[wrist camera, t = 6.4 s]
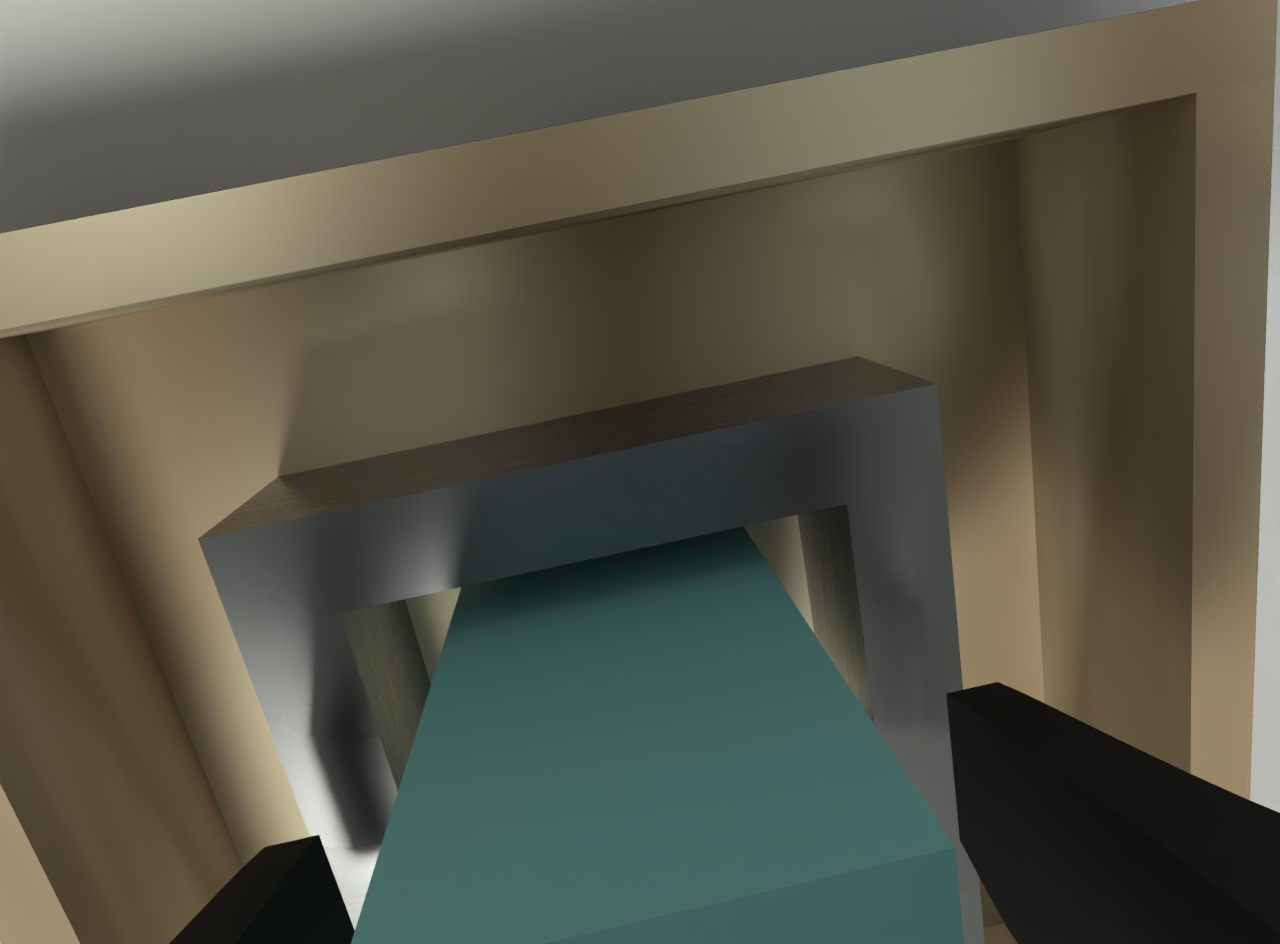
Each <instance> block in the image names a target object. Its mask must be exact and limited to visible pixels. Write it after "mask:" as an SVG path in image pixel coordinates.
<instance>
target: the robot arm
mask: <svg viewBox="0 0 1280 944" xmlns="http://www.w3.org/2000/svg"><path fill="white" fill-rule="evenodd" d="M946 697H947V708H948V718H949V729H950V740H951V751H952V762H953V773H954V784H955V794H956V805H957V816H958V827H959V838H960V841H961V843H962V845H963V847H964V849H965V851H966V853H967V855H968V857H969V858H970V860H971V862H972V864H973V866H974V868H975V870H976V872H977V874H978V876H979V878H980V879H981V881H982V883H983V885H984V887H985V889H986V891H987V893H988V894H989V896H990V898H991V900H992V902H993V903H994V905H995V907H996V909H997V911H998V912H999V914H1000V916H1001V918H1002V920H1003V921H1004V923H1005V925H1006V927H1007V928H1008V930H1009V931H1010V933H1011V934H1012V936H1013V937H1014V939H1015V940H1016V942H1017V943H1018V944H1280V813H1278V812H1276V811H1274V810H1271V809H1269V808H1267V807H1264V806H1262V805H1259V804H1257V803H1255V802H1252V801H1250V800H1248V799H1246V798H1243V797H1241V796H1239V795H1237V794H1234V793H1232V792H1230V791H1228V790H1225V789H1223V788H1221V787H1219V786H1216V785H1214V784H1212V783H1210V782H1208V781H1205V780H1203V779H1201V778H1199V777H1197V776H1195V775H1192V774H1190V773H1188V772H1186V771H1184V770H1181V769H1179V768H1177V767H1175V766H1173V765H1171V764H1169V763H1167V762H1165V761H1162V760H1160V759H1158V758H1156V757H1154V756H1152V755H1150V754H1148V753H1146V752H1143V751H1141V750H1139V749H1137V748H1135V747H1133V746H1131V745H1129V744H1127V743H1125V742H1123V741H1121V740H1119V739H1116V738H1114V737H1112V736H1110V735H1108V734H1106V733H1104V732H1102V731H1100V730H1098V729H1096V728H1094V727H1092V726H1090V725H1088V724H1086V723H1084V722H1082V721H1080V720H1078V719H1076V718H1074V717H1072V716H1070V715H1068V714H1066V713H1063V712H1061V711H1059V710H1057V709H1055V708H1053V707H1051V706H1049V705H1047V704H1045V703H1043V702H1041V701H1039V700H1037V699H1035V698H1033V697H1030V696H1028V695H1026V694H1024V693H1022V692H1020V691H1018V690H1015V689H1013V688H1011V687H1009V686H1006V685H1004V684H1002V683H999V682H995V683H990V684H986V685H982V686H977V687H973V688H968V689H964V690H959V691H955V692H950V693H946ZM354 932H355V930H354V927H353V925H352V922H351V919H350V917H349V914H348V911H347V909H346V906H345V903H344V901H343V898H342V895H341V892H340V890H339V887H338V884H337V882H336V879H335V876H334V874H333V871H332V868H331V866H330V863H329V860H328V858H327V855H326V852H325V850H324V847H323V844H322V841H321V839H320V836H319V835H316V836H311V837H307V838H302V839H298V840H293V841H289V842H285V843H280V844H276V845H271V846H267V847H264V848H263V849H262V850H261V851H260V852H259V853H258V854H256V855H255V856H254V857H253V858H252V859H251V860H250V861H249V862H248V863H247V864H246V865H245V866H244V867H243V868H242V869H241V870H240V871H239V872H238V873H237V874H236V875H235V876H234V877H233V878H232V879H231V880H230V881H229V882H228V883H227V884H226V885H225V886H224V887H223V888H222V889H221V890H220V891H219V892H218V893H217V894H216V895H215V896H214V897H213V898H212V899H211V900H210V901H209V902H208V903H207V904H206V905H205V907H204V908H203V909H202V910H201V911H200V912H199V913H198V914H197V915H196V916H195V917H194V918H193V919H192V920H191V921H190V922H189V923H188V924H187V925H186V926H185V927H184V929H183V930H182V931H181V932H180V933H179V934H178V935H177V936H176V937H175V938H174V939H173V940H172V941H171V942H170V943H169V944H351V942H352V938H353V935H354Z"/></svg>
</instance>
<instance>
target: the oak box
mask: <svg viewBox="0 0 1280 944" xmlns="http://www.w3.org/2000/svg"><path fill="white" fill-rule="evenodd" d="M1276 24H1277V0H1202V1H1196V2H1191V3H1186V4H1181V5H1176V6H1171V7H1165V8H1160V9H1155V10H1150V11H1145V12H1140V13H1134V14H1129V15H1124V16H1119V17H1114V18H1109V19H1104V20H1098V21H1093V22H1088V23H1083V24H1078V25H1073V26H1067V27H1062V28H1057V29H1052V30H1047V31H1042V32H1037V33H1031V34H1026V35H1021V36H1016V37H1011V38H1006V39H1000V40H995V41H990V42H985V43H980V44H975V45H970V46H964V47H959V48H954V49H949V50H944V51H939V52H933V53H928V54H923V55H918V56H913V57H908V58H903V59H897V60H892V61H887V62H882V63H877V64H872V65H866V66H861V67H856V68H851V69H846V70H841V71H835V72H830V73H825V74H820V75H815V76H810V77H805V78H799V79H794V80H789V81H784V82H779V83H774V84H768V85H763V86H758V87H753V88H748V89H743V90H738V91H732V92H727V93H722V94H717V95H712V96H707V97H701V98H696V99H691V100H686V101H681V102H676V103H671V104H665V105H660V106H655V107H650V108H645V109H640V110H634V111H629V112H624V113H619V114H614V115H609V116H603V117H598V118H593V119H588V120H583V121H578V122H573V123H567V124H562V125H557V126H552V127H547V128H542V129H536V130H531V131H526V132H521V133H516V134H511V135H506V136H500V137H495V138H490V139H485V140H480V141H475V142H469V143H464V144H459V145H454V146H449V147H444V148H439V149H433V150H428V151H423V152H418V153H413V154H408V155H402V156H397V157H392V158H387V159H382V160H377V161H372V162H366V163H361V164H356V165H351V166H346V167H341V168H335V169H330V170H325V171H320V172H315V173H310V174H304V175H299V176H294V177H289V178H284V179H279V180H274V181H268V182H263V183H258V184H253V185H248V186H243V187H237V188H232V189H227V190H222V191H217V192H212V193H207V194H201V195H196V196H191V197H186V198H181V199H176V200H170V201H165V202H160V203H155V204H150V205H145V206H140V207H134V208H129V209H124V210H119V211H114V212H109V213H103V214H98V215H93V216H88V217H83V218H78V219H72V220H67V221H62V222H57V223H52V224H47V225H42V226H36V227H31V228H26V229H21V230H16V231H11V232H5V233H0V942H1V944H169V943H170V942H171V941H172V940H173V939H174V938H175V937H176V936H177V935H178V934H179V933H180V932H181V931H182V930H183V929H184V927H185V926H186V925H187V924H188V923H189V922H190V921H191V920H192V919H193V918H194V917H195V916H196V915H197V914H198V913H199V912H200V911H201V910H202V909H203V908H204V907H205V905H206V904H207V903H208V902H209V901H210V900H211V899H212V898H213V897H214V896H215V895H216V894H217V893H218V892H219V891H220V890H221V889H222V888H223V887H224V886H225V885H226V884H227V883H228V882H229V881H230V880H231V879H232V878H233V877H234V876H235V875H236V874H237V873H238V872H239V871H240V870H241V869H242V868H243V867H244V866H245V865H246V864H247V863H248V862H249V861H250V860H251V859H252V858H253V857H254V856H255V855H256V854H258V853H259V852H260V851H261V850H262V849H263V848H264V847H267V846H271V845H276V844H280V843H285V842H289V841H293V840H298V839H302V838H307V837H310V835H309V833H308V830H307V827H306V825H305V822H304V820H303V817H302V814H301V812H300V809H299V806H298V804H297V801H296V798H295V796H294V793H293V790H292V788H291V785H290V782H289V780H288V777H287V774H286V772H285V769H284V766H283V764H282V761H281V759H280V756H279V753H278V751H277V748H276V745H275V743H274V740H273V737H272V735H271V732H270V729H269V727H268V724H267V721H266V719H265V716H264V713H263V711H262V708H261V705H260V703H259V700H258V697H257V695H256V692H255V690H254V687H253V684H252V682H251V679H250V676H249V674H248V671H247V668H246V666H245V663H244V660H243V658H242V655H241V652H240V650H239V647H238V644H237V642H236V639H235V636H234V634H233V631H232V628H231V626H230V623H229V621H228V618H227V615H226V613H225V610H224V607H223V605H222V602H221V599H220V597H219V594H218V591H217V589H216V586H215V583H214V581H213V578H212V575H211V573H210V570H209V567H208V565H207V562H206V559H205V557H204V554H203V552H202V549H201V546H200V544H199V541H198V538H200V537H201V536H202V535H204V534H205V533H206V532H207V531H209V530H210V529H211V528H213V527H214V526H215V525H216V524H218V523H219V522H220V521H222V520H223V519H224V518H225V517H227V516H228V515H229V514H231V513H232V512H233V511H234V510H236V509H237V508H238V507H240V506H241V505H242V504H243V503H245V502H246V501H247V500H249V499H250V498H251V497H252V496H254V495H255V494H256V493H258V492H259V491H260V490H261V489H263V488H264V487H265V486H267V485H268V484H269V483H270V482H272V481H273V480H274V479H276V478H277V477H279V476H284V475H289V474H294V473H299V472H303V471H308V470H313V469H318V468H323V467H328V466H332V465H337V464H342V463H347V462H352V461H356V460H361V459H366V458H371V457H376V456H380V455H385V454H390V453H395V452H400V451H404V450H409V449H414V448H419V447H424V446H429V445H433V444H438V443H443V442H448V441H453V440H457V439H462V438H467V437H472V436H477V435H481V434H486V433H491V432H496V431H501V430H505V429H510V428H515V427H520V426H525V425H529V424H534V423H539V422H544V421H549V420H554V419H558V418H563V417H568V416H573V415H578V414H582V413H587V412H592V411H597V410H602V409H606V408H611V407H616V406H621V405H626V404H630V403H635V402H640V401H645V400H650V399H655V398H659V397H664V396H669V395H674V394H679V393H683V392H688V391H693V390H698V389H703V388H707V387H712V386H717V385H722V384H727V383H731V382H736V381H741V380H746V379H751V378H755V377H760V376H765V375H770V374H775V373H780V372H784V371H789V370H794V369H799V368H804V367H808V366H813V365H818V364H823V363H828V362H832V361H837V360H842V359H847V358H852V357H856V356H859V357H862V358H865V359H868V360H870V361H873V362H876V363H879V364H882V365H885V366H888V367H891V368H893V369H896V370H899V371H902V372H905V373H908V374H911V375H914V376H917V377H919V378H922V379H925V380H928V381H931V382H934V383H937V388H938V400H939V412H940V424H941V435H942V447H943V459H944V471H945V482H946V494H947V506H948V518H949V529H950V541H951V553H952V565H953V576H954V588H955V600H956V612H957V623H958V635H959V647H960V659H961V671H962V682H963V690H964V689H968V688H973V687H977V686H982V685H986V684H990V683H995V682H999V683H1002V684H1004V685H1006V686H1009V687H1011V688H1013V689H1015V690H1018V691H1020V692H1022V693H1024V694H1026V695H1028V696H1030V697H1033V698H1035V699H1037V700H1039V701H1041V702H1043V703H1045V704H1047V705H1049V706H1051V707H1053V708H1055V709H1057V710H1059V711H1061V712H1063V713H1066V714H1068V715H1070V716H1072V717H1074V718H1076V719H1078V720H1080V721H1082V722H1084V723H1086V724H1088V725H1090V726H1092V727H1094V728H1096V729H1098V730H1100V731H1102V732H1104V733H1106V734H1108V735H1110V736H1112V737H1114V738H1116V739H1119V740H1121V741H1123V742H1125V743H1127V744H1129V745H1131V746H1133V747H1135V748H1137V749H1139V750H1141V751H1143V752H1146V753H1148V754H1150V755H1152V756H1154V757H1156V758H1158V759H1160V760H1162V761H1165V762H1167V763H1169V764H1171V765H1173V766H1175V767H1177V768H1179V769H1181V770H1184V771H1186V772H1188V773H1190V774H1192V775H1195V776H1197V777H1199V778H1201V779H1203V780H1205V781H1208V782H1210V783H1212V784H1214V785H1216V786H1219V787H1221V788H1223V789H1225V790H1228V791H1230V792H1232V793H1234V794H1237V795H1239V796H1241V797H1243V798H1246V799H1248V800H1250V777H1251V748H1252V719H1253V690H1254V661H1255V632H1256V603H1257V574H1258V545H1259V516H1260V487H1261V458H1262V429H1263V400H1264V372H1265V343H1266V314H1267V285H1268V256H1269V227H1270V198H1271V169H1272V140H1273V111H1274V82H1275V53H1276ZM744 528H745V529H746V531H747V532H748V534H749V535H750V537H751V538H752V540H753V541H754V543H755V544H756V546H757V548H758V549H759V551H760V552H761V554H762V555H763V557H764V558H765V560H766V561H767V563H768V564H769V566H770V567H771V569H772V570H773V572H774V573H775V575H776V576H777V578H778V579H779V581H780V582H781V584H782V585H783V587H784V589H785V590H786V592H787V593H788V595H789V596H790V598H791V599H792V601H793V602H794V604H795V605H796V607H797V608H798V610H799V611H800V613H801V614H802V616H803V617H804V619H805V620H806V622H807V623H808V625H809V627H810V628H811V630H812V631H813V633H814V628H813V621H812V614H811V607H810V600H809V593H808V586H807V579H806V572H805V565H804V558H803V551H802V544H801V537H800V530H799V523H798V516H797V515H794V516H789V517H784V518H780V519H775V520H770V521H766V522H761V523H756V524H752V525H747V526H744ZM460 590H461V587H459V588H454V589H449V590H445V591H440V592H436V593H431V594H426V595H422V596H417V597H412V598H408V599H405V600H406V604H407V607H408V610H409V614H410V617H411V620H412V623H413V627H414V630H415V633H416V637H417V640H418V643H419V647H420V650H421V653H422V656H423V660H424V663H425V666H426V670H427V673H428V676H429V679H430V683H432V680H433V677H434V674H435V670H436V667H437V664H438V661H439V658H440V654H441V651H442V648H443V645H444V641H445V638H446V635H447V632H448V628H449V625H450V622H451V619H452V616H453V612H454V609H455V606H456V603H457V599H458V596H459V593H460ZM979 882H980V894H981V906H982V917H983V929H984V941H985V944H1018V943H1017V942H1016V940H1015V939H1014V937H1013V936H1012V934H1011V933H1010V931H1009V930H1008V928H1007V927H1006V925H1005V923H1004V921H1003V920H1002V918H1001V916H1000V914H999V912H998V911H997V909H996V907H995V905H994V903H993V902H992V900H991V898H990V896H989V894H988V893H987V891H986V889H985V887H984V885H983V883H982V881H981V879H980V878H979Z"/></svg>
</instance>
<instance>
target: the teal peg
mask: <svg viewBox="0 0 1280 944" xmlns="http://www.w3.org/2000/svg"><path fill="white" fill-rule="evenodd" d="M351 944H964V938H963V927H962V917H961V907H960V896H959V886H958V876H957V865H956V855H955V847H954V845H953V844H952V842H951V841H950V839H949V838H948V836H947V835H946V833H945V832H944V830H943V829H942V827H941V826H940V824H939V823H938V821H937V819H936V818H935V816H934V815H933V813H932V812H931V810H930V809H929V807H928V806H927V804H926V803H925V801H924V800H923V798H922V797H921V795H920V794H919V792H918V791H917V789H916V788H915V786H914V785H913V783H912V781H911V780H910V778H909V777H908V775H907V774H906V772H905V771H904V769H903V768H902V766H901V765H900V763H899V762H898V760H897V759H896V757H895V756H894V754H893V753H892V751H891V750H890V748H889V747H888V745H887V744H886V742H885V740H884V739H883V737H882V736H881V734H880V733H879V731H878V730H877V728H876V727H875V725H874V724H873V722H872V721H871V719H870V718H869V716H868V715H867V713H866V712H865V710H864V709H863V707H862V706H861V704H860V702H859V701H858V699H857V698H856V696H855V695H854V693H853V692H852V690H851V689H850V687H849V686H848V684H847V683H846V681H845V680H844V678H843V677H842V675H841V674H840V672H839V671H838V669H837V668H836V666H835V664H834V663H833V661H832V660H831V658H830V657H829V655H828V654H827V652H826V651H825V649H824V648H823V646H822V645H821V643H820V642H819V640H818V639H817V637H816V636H815V634H814V633H813V631H812V630H811V628H810V627H809V625H808V623H807V622H806V620H805V619H804V617H803V616H802V614H801V613H800V611H799V610H798V608H797V607H796V605H795V604H794V602H793V601H792V599H791V598H790V596H789V595H788V593H787V592H786V590H785V589H784V587H783V585H782V584H781V582H780V581H779V579H778V578H777V576H776V575H775V573H774V572H773V570H772V569H771V567H770V566H769V564H768V563H767V561H766V560H765V558H764V557H763V555H762V554H761V552H760V551H759V549H758V548H757V546H756V544H755V543H754V541H753V540H752V538H751V537H750V535H749V534H748V532H747V531H746V529H745V528H744V526H742V527H738V528H733V529H729V530H724V531H719V532H715V533H710V534H705V535H701V536H696V537H691V538H687V539H682V540H677V541H673V542H668V543H663V544H659V545H654V546H649V547H645V548H640V549H636V550H631V551H626V552H622V553H617V554H612V555H608V556H603V557H598V558H594V559H589V560H584V561H580V562H575V563H570V564H566V565H561V566H556V567H552V568H547V569H542V570H538V571H533V572H529V573H524V574H519V575H515V576H510V577H505V578H501V579H496V580H491V581H487V582H482V583H477V584H473V585H468V586H463V587H461V590H460V593H459V596H458V599H457V603H456V606H455V609H454V612H453V616H452V619H451V622H450V625H449V628H448V632H447V635H446V638H445V641H444V645H443V648H442V651H441V654H440V658H439V661H438V664H437V667H436V670H435V674H434V677H433V680H432V683H431V687H430V690H429V693H428V696H427V699H426V703H425V706H424V709H423V712H422V716H421V719H420V722H419V725H418V729H417V732H416V735H415V738H414V741H413V745H412V748H411V751H410V754H409V758H408V761H407V764H406V767H405V771H404V774H403V777H402V780H401V783H400V787H399V790H398V793H397V796H396V800H395V803H394V806H393V809H392V813H391V816H390V819H389V822H388V825H387V829H386V832H385V835H384V838H383V842H382V845H381V848H380V851H379V854H378V858H377V861H376V864H375V867H374V871H373V874H372V877H371V880H370V884H369V887H368V890H367V893H366V896H365V900H364V903H363V906H362V909H361V913H360V916H359V919H358V922H357V926H356V929H355V932H354V935H353V938H352V942H351Z"/></svg>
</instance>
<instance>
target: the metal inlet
mask: <svg viewBox="0 0 1280 944" xmlns="http://www.w3.org/2000/svg"><path fill="white" fill-rule="evenodd" d="M794 515H797V516H798V523H799V530H800V537H801V544H802V551H803V558H804V565H805V572H806V579H807V586H808V593H809V600H810V607H811V614H812V621H813V628H814V634H815V636H816V637H817V639H818V640H819V642H820V643H821V645H822V646H823V648H824V649H825V651H826V652H827V654H828V655H829V657H830V658H831V660H832V661H833V663H834V664H835V666H836V668H837V669H838V671H839V672H840V674H841V675H842V677H843V678H844V680H845V681H846V683H847V684H848V686H849V687H850V689H851V690H852V692H853V693H854V695H855V696H856V698H857V699H858V701H859V702H860V704H861V706H862V707H863V709H864V710H865V712H866V713H867V715H868V716H869V718H870V719H871V721H872V722H873V724H874V725H875V727H876V728H877V730H878V731H879V733H880V734H881V736H882V737H883V739H884V740H885V742H886V744H887V745H888V747H889V748H890V750H891V751H892V753H893V754H894V756H895V757H896V759H897V760H898V762H899V763H900V765H901V766H902V768H903V769H904V771H905V772H906V774H907V775H908V777H909V778H910V780H911V781H912V783H913V785H914V786H915V788H916V789H917V791H918V792H919V794H920V795H921V797H922V798H923V800H924V801H925V803H926V804H927V806H928V807H929V809H930V810H931V812H932V813H933V815H934V816H935V818H936V819H937V821H938V823H939V824H940V826H941V827H942V829H943V830H944V832H945V833H946V835H947V836H948V838H949V839H950V841H951V842H952V844H953V845H954V847H955V855H956V865H957V876H958V886H959V896H960V907H961V917H962V927H963V938H964V944H985V941H984V929H983V917H982V906H981V894H980V882H979V876H978V874H977V872H976V870H975V868H974V866H973V864H972V862H971V860H970V858H969V857H968V855H967V853H966V851H965V849H964V847H963V845H962V843H961V841H960V838H959V827H958V816H957V805H956V794H955V784H954V773H953V762H952V751H951V740H950V729H949V718H948V708H947V697H946V693H950V692H955V691H959V690H963V682H962V671H961V659H960V647H959V635H958V623H957V612H956V600H955V588H954V576H953V565H952V553H951V541H950V529H949V518H948V506H947V494H946V482H945V471H944V459H943V447H942V435H941V424H940V412H939V400H938V388H937V383H934V382H931V381H928V380H925V379H922V378H919V377H917V376H914V375H911V374H908V373H905V372H902V371H899V370H896V369H893V368H891V367H888V366H885V365H882V364H879V363H876V362H873V361H870V360H868V359H865V358H862V357H859V356H856V357H852V358H847V359H842V360H837V361H832V362H828V363H823V364H818V365H813V366H808V367H804V368H799V369H794V370H789V371H784V372H780V373H775V374H770V375H765V376H760V377H755V378H751V379H746V380H741V381H736V382H731V383H727V384H722V385H717V386H712V387H707V388H703V389H698V390H693V391H688V392H683V393H679V394H674V395H669V396H664V397H659V398H655V399H650V400H645V401H640V402H635V403H630V404H626V405H621V406H616V407H611V408H606V409H602V410H597V411H592V412H587V413H582V414H578V415H573V416H568V417H563V418H558V419H554V420H549V421H544V422H539V423H534V424H529V425H525V426H520V427H515V428H510V429H505V430H501V431H496V432H491V433H486V434H481V435H477V436H472V437H467V438H462V439H457V440H453V441H448V442H443V443H438V444H433V445H429V446H424V447H419V448H414V449H409V450H404V451H400V452H395V453H390V454H385V455H380V456H376V457H371V458H366V459H361V460H356V461H352V462H347V463H342V464H337V465H332V466H328V467H323V468H318V469H313V470H308V471H303V472H299V473H294V474H289V475H284V476H279V477H277V478H276V479H274V480H273V481H272V482H270V483H269V484H268V485H267V486H265V487H264V488H263V489H261V490H260V491H259V492H258V493H256V494H255V495H254V496H252V497H251V498H250V499H249V500H247V501H246V502H245V503H243V504H242V505H241V506H240V507H238V508H237V509H236V510H234V511H233V512H232V513H231V514H229V515H228V516H227V517H225V518H224V519H223V520H222V521H220V522H219V523H218V524H216V525H215V526H214V527H213V528H211V529H210V530H209V531H207V532H206V533H205V534H204V535H202V536H201V537H200V538H198V541H199V544H200V546H201V549H202V552H203V554H204V557H205V559H206V562H207V565H208V567H209V570H210V573H211V575H212V578H213V581H214V583H215V586H216V589H217V591H218V594H219V597H220V599H221V602H222V605H223V607H224V610H225V613H226V615H227V618H228V621H229V623H230V626H231V628H232V631H233V634H234V636H235V639H236V642H237V644H238V647H239V650H240V652H241V655H242V658H243V660H244V663H245V666H246V668H247V671H248V674H249V676H250V679H251V682H252V684H253V687H254V690H255V692H256V695H257V697H258V700H259V703H260V705H261V708H262V711H263V713H264V716H265V719H266V721H267V724H268V727H269V729H270V732H271V735H272V737H273V740H274V743H275V745H276V748H277V751H278V753H279V756H280V759H281V761H282V764H283V766H284V769H285V772H286V774H287V777H288V780H289V782H290V785H291V788H292V790H293V793H294V796H295V798H296V801H297V804H298V806H299V809H300V812H301V814H302V817H303V820H304V822H305V825H306V827H307V830H308V833H309V835H310V837H311V836H316V835H319V836H320V839H321V841H322V844H323V847H324V850H325V852H326V855H327V858H328V860H329V863H330V866H331V868H332V871H333V874H334V876H335V879H336V882H337V884H338V887H339V890H340V892H341V895H342V898H343V901H344V903H345V906H346V909H347V911H348V914H349V917H350V919H351V922H352V925H353V927H354V930H355V929H356V926H357V922H358V919H359V916H360V913H361V909H362V906H363V903H364V900H365V896H366V893H367V890H368V887H369V884H370V880H371V877H372V874H373V871H374V867H375V864H376V861H377V858H378V854H379V851H380V848H381V845H382V842H383V838H384V835H385V832H386V829H387V825H388V822H389V819H390V816H391V813H392V809H393V806H394V803H395V800H396V796H397V793H398V790H399V787H400V783H401V780H402V777H403V774H404V771H405V767H406V764H407V761H408V758H409V754H410V751H411V748H412V745H413V741H414V738H415V735H416V732H417V729H418V725H419V722H420V719H421V716H422V712H423V709H424V706H425V703H426V699H427V696H428V693H429V690H430V687H431V683H430V679H429V676H428V673H427V670H426V666H425V663H424V660H423V656H422V653H421V650H420V647H419V643H418V640H417V637H416V633H415V630H414V627H413V623H412V620H411V617H410V614H409V610H408V607H407V604H406V600H405V599H408V598H412V597H417V596H422V595H426V594H431V593H436V592H440V591H445V590H449V589H454V588H459V587H463V586H468V585H473V584H477V583H482V582H487V581H491V580H496V579H501V578H505V577H510V576H515V575H519V574H524V573H529V572H533V571H538V570H542V569H547V568H552V567H556V566H561V565H566V564H570V563H575V562H580V561H584V560H589V559H594V558H598V557H603V556H608V555H612V554H617V553H622V552H626V551H631V550H636V549H640V548H645V547H649V546H654V545H659V544H663V543H668V542H673V541H677V540H682V539H687V538H691V537H696V536H701V535H705V534H710V533H715V532H719V531H724V530H729V529H733V528H738V527H742V526H747V525H752V524H756V523H761V522H766V521H770V520H775V519H780V518H784V517H789V516H794Z"/></svg>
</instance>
